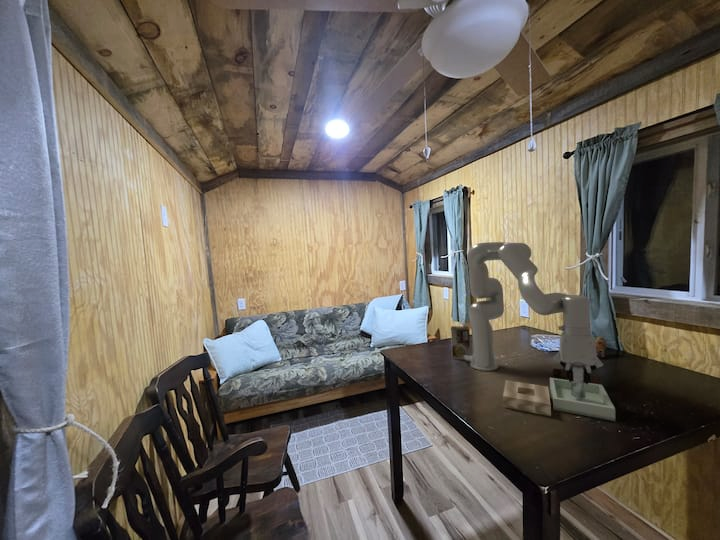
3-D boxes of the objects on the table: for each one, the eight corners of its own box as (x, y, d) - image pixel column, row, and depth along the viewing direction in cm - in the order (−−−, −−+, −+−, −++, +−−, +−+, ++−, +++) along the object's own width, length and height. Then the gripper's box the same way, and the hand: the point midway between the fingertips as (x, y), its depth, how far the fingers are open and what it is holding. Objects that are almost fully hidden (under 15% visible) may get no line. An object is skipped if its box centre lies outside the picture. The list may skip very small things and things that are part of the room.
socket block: (503, 407, 99) (503, 396, 99) (506, 390, 111) (505, 380, 111) (551, 416, 92) (550, 404, 92) (548, 397, 104) (548, 386, 104)
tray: (553, 409, 96) (553, 398, 96) (550, 387, 111) (549, 377, 111) (615, 421, 88) (615, 408, 87) (602, 395, 103) (602, 384, 103)
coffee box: (470, 355, 150) (468, 326, 150) (470, 360, 144) (469, 329, 144) (452, 354, 153) (451, 325, 153) (452, 359, 147) (450, 328, 147)
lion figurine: (596, 352, 144) (596, 335, 144) (609, 355, 140) (609, 337, 139) (581, 358, 138) (580, 340, 137) (594, 361, 133) (593, 343, 133)
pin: (568, 397, 98) (567, 361, 98) (566, 390, 103) (565, 355, 103) (590, 401, 95) (589, 363, 95) (587, 393, 100) (586, 358, 100)
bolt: (554, 379, 121) (598, 390, 109) (550, 377, 119) (595, 387, 107) (555, 366, 123) (599, 375, 111) (551, 363, 120) (596, 372, 108)
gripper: (548, 331, 99) (550, 381, 100) (610, 335, 91) (611, 390, 92) (547, 326, 106) (548, 373, 107) (605, 329, 97) (606, 381, 98)
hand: (577, 380), depth 99 cm, fingers closed on pin, 4 cm apart
